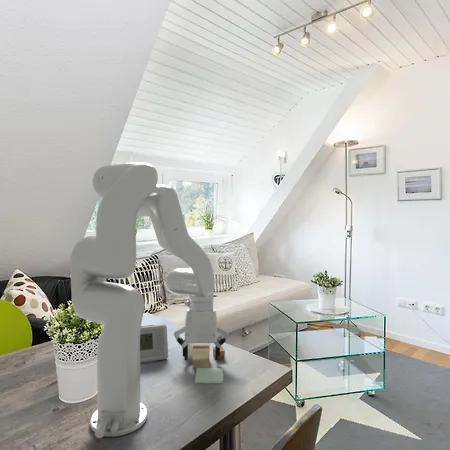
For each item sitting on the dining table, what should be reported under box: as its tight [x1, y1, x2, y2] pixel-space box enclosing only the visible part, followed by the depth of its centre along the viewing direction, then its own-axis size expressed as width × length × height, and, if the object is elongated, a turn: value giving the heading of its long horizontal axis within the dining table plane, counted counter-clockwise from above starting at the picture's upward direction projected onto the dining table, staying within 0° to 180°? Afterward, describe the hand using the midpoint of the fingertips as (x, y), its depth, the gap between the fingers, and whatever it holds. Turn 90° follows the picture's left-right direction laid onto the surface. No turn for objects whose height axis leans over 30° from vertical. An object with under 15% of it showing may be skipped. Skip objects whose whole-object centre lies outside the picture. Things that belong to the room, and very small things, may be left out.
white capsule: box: [183, 343, 194, 360], centre depth 115 cm, size 4×4×5 cm
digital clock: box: [140, 324, 169, 364], centre depth 112 cm, size 16×9×11 cm, turn 97°
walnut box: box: [212, 345, 226, 361], centre depth 114 cm, size 4×3×3 cm
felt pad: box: [194, 367, 224, 384], centre depth 101 cm, size 8×8×1 cm
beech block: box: [192, 343, 210, 369], centre depth 109 cm, size 5×5×6 cm
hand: (201, 358), depth 109 cm, fingers open, 9 cm apart
